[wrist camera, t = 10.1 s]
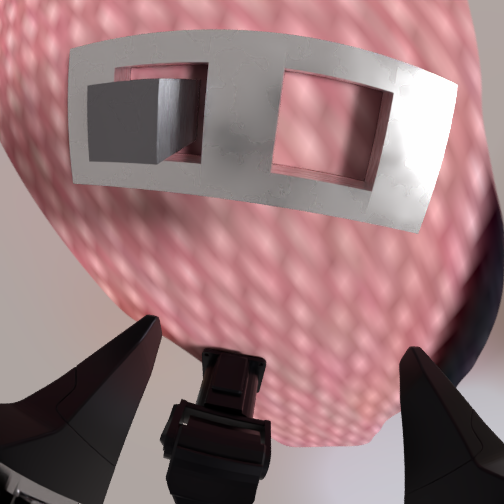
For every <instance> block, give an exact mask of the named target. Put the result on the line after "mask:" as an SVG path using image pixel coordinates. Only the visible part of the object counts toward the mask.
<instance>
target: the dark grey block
mask: <svg viewBox="0 0 504 504" xmlns="http://www.w3.org/2000/svg"><path fill="white" fill-rule="evenodd" d="M200 81H201V80H192V79H142V80H129V81H118V82H109V83H101V84H94V85H87V129H88V150H89V162H119V163H138V164H154V165H157V164H159V163H160V162H162V161H163V160H165V159H166V158H168V157H170V156H171V155H173V154H174V153H176V152H178V151H179V150H181V149H182V148H184V147H186V146H187V145H189V144H191V143H192V142H194V141H196V136H197V120H198V106H199V93H200Z"/></svg>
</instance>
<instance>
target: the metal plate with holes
mask: <svg viewBox="0 0 504 504" xmlns="http://www.w3.org/2000/svg"><path fill="white" fill-rule="evenodd" d="M161 65H209V66H208V76H207V87H206V98H205V111H204V125H203V140H202V155H193V154H181V153H174V154H173V155H171V156H170V157H168V158H166V159H165V160H163V161H162V162H160V163H159V164H157V165H154V164H138V163H119V162H89V150H88V129H87V85H94V84H101V83H109V82H118V81H129V80H130V73H131V68H135V67H146V66H161ZM285 71H291V72H297V73H303V74H309V75H315V76H320V77H325V78H330V79H335V80H339V81H344V82H348V83H352V84H356V85H360V86H364V87H367V88H371V89H375V90H378V91H381V92H383V96H382V102H381V107H380V113H379V118H378V123H377V128H376V133H375V138H374V143H373V147H372V152H371V156H370V160H369V165H368V169H367V173H366V177H365V181H362V180H357V179H353V178H348V177H343V176H338V175H334V174H328V173H323V172H318V171H313V170H307V169H301V168H296V167H289V166H283V165H277V164H273V157H274V150H275V142H276V135H277V128H278V120H279V113H280V105H281V98H282V90H283V82H284V75H285ZM457 86H458V85H457V84H455V83H453V82H451V81H448V80H446V79H444V78H442V77H440V76H437V75H435V74H433V73H430V72H428V71H426V70H423V69H421V68H418V67H415V66H413V65H410V64H407V63H405V62H402V61H399V60H396V59H393V58H390V57H387V56H384V55H381V54H378V53H374V52H371V51H367V50H364V49H360V48H356V47H352V46H348V45H344V44H340V43H335V42H330V41H326V40H320V39H315V38H309V37H303V36H297V35H289V34H281V33H272V32H262V31H248V30H182V31H168V32H157V33H149V34H141V35H134V36H127V37H121V38H116V39H110V40H106V41H101V42H96V43H92V44H88V45H84V46H80V47H76V48H72V49H70V58H69V75H68V128H69V146H70V158H71V168H72V177H73V184H88V185H101V186H113V187H125V188H136V189H146V190H156V191H165V192H174V193H183V194H191V195H199V196H207V197H215V198H222V199H229V200H237V201H244V202H250V203H257V204H264V205H270V206H277V207H283V208H289V209H295V210H301V211H307V212H312V213H318V214H324V215H329V216H335V217H340V218H345V219H350V220H356V221H361V222H366V223H371V224H375V225H380V226H385V227H390V228H394V229H399V230H404V231H408V232H413V233H417V234H418V232H419V230H420V227H421V224H422V222H423V219H424V216H425V213H426V210H427V207H428V205H429V202H430V199H431V196H432V192H433V189H434V186H435V183H436V180H437V176H438V173H439V169H440V166H441V162H442V158H443V155H444V151H445V147H446V143H447V138H448V134H449V130H450V125H451V120H452V115H453V110H454V104H455V99H456V93H457Z"/></svg>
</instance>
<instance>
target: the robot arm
mask: <svg viewBox="0 0 504 504" xmlns="http://www.w3.org/2000/svg"><path fill="white" fill-rule="evenodd" d="M161 338H162V330H161V325H160V320H159V317H157V316H154V315H146V316H144V317H143V318H142V319H140V320H139V321H137V322H136V323H135V324H133V325H132V326H131V327H129V328H128V329H126V330H125V331H124V332H122V333H121V334H120V335H118V336H117V337H115V338H114V339H113V340H111V341H110V342H108V343H107V344H106V345H104V346H103V347H102V348H100V349H99V350H97V351H96V352H95V353H93V354H92V355H91V356H89V357H88V358H86V359H85V360H84V361H82V362H81V363H80V364H78V365H77V367H74V368H73V369H71V370H70V371H69V372H67V373H66V374H65V375H63V376H61V377H60V378H59V379H57V380H55V381H54V382H52V383H51V384H49V385H47V386H46V387H44V388H42V389H41V390H39V391H37V392H35V393H34V394H32V395H30V396H28V397H27V398H25V399H23V400H21V401H18V402H15V403H9V404H0V504H79V503H81V504H103V502H104V499H105V496H106V493H107V490H108V487H109V484H110V481H111V478H112V476H113V473H114V470H115V466H116V464H117V461H118V458H119V456H120V453H121V450H122V447H123V445H124V442H125V439H126V437H127V434H128V431H129V429H130V426H131V424H132V421H133V418H134V416H135V413H136V411H137V408H138V406H139V403H140V400H141V398H142V396H143V393H144V391H145V388H146V386H147V383H148V381H149V378H150V376H151V373H152V370H153V366H154V363H155V359H156V355H157V352H158V348H159V345H160V342H161ZM202 366H203V381H202V384H201V388H200V391H199V395H198V398H197V401H196V404H193V403H190V402H187V401H186V400H183V399H181V402H180V404H175V405H174V406H173V408H172V411H171V415H170V417H169V420H168V422H167V424H166V426H165V428H164V430H163V433H162V434H161V437H160V441H161V443H162V445H163V446H164V447H163V450H164V458H166V459H169V460H170V463H169V467H168V472H167V475H166V481H167V485H168V488H169V491H170V494H171V495H172V496H173V499H174V501H175V503H176V504H253V502H254V500H255V495H256V490H257V486H258V483H259V480H262V479H264V477H265V476H266V473H267V471H268V468H269V464H270V459H271V421H269V420H259V419H254V418H253V413H254V407H255V400H256V393H258V392H259V390H260V386H261V382H262V379H263V375H264V371H265V367H266V360H264V359H260V358H254V357H248V356H242V355H236V354H231V353H226V352H220V351H215V350H210V349H204V350H203V352H202ZM399 372H400V405H401V415H402V427H403V439H404V440H403V442H404V462H405V464H404V465H405V496H404V504H504V443H503V442H502V441H501V440H500V439H499V438H498V437H497V436H496V435H495V433H494V432H493V431H492V430H491V429H490V428H489V427H488V426H487V425H486V424H485V423H484V422H483V420H482V419H481V418H480V417H479V415H478V414H477V413H476V412H475V410H474V409H472V407H471V406H470V404H469V403H468V402H467V401H466V400H465V398H464V397H463V396H462V395H461V393H460V392H459V391H458V390H457V389H456V387H455V386H454V385H453V384H452V383H451V382H450V380H449V379H448V378H447V377H446V376H445V375H444V373H443V372H442V371H441V370H440V369H439V368H438V367H437V365H436V364H435V363H434V362H433V361H432V360H431V359H430V358H429V356H428V355H427V354H426V353H425V352H424V351H423V350H422V349H421V348H420V347H415V346H411V347H409V348H408V349H407V351H406V353H405V354H404V356H403V357H402V359H401V361H400V364H399ZM183 423H186V424H187V425H183Z"/></svg>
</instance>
